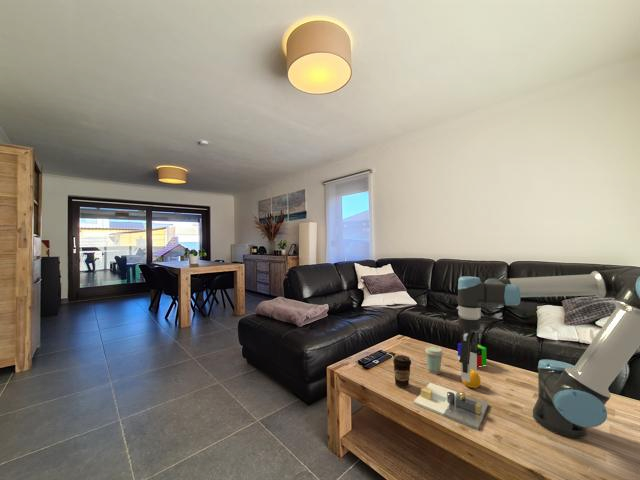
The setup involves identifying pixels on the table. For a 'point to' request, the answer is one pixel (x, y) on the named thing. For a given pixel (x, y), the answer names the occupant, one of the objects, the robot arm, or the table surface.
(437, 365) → the coffee cup
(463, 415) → the plate
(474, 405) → the swing bar
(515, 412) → the table surface
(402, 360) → the coffee cup
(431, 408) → the door board
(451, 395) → the pivot post
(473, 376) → the orange
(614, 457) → the table surface
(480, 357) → the puzzle toy
